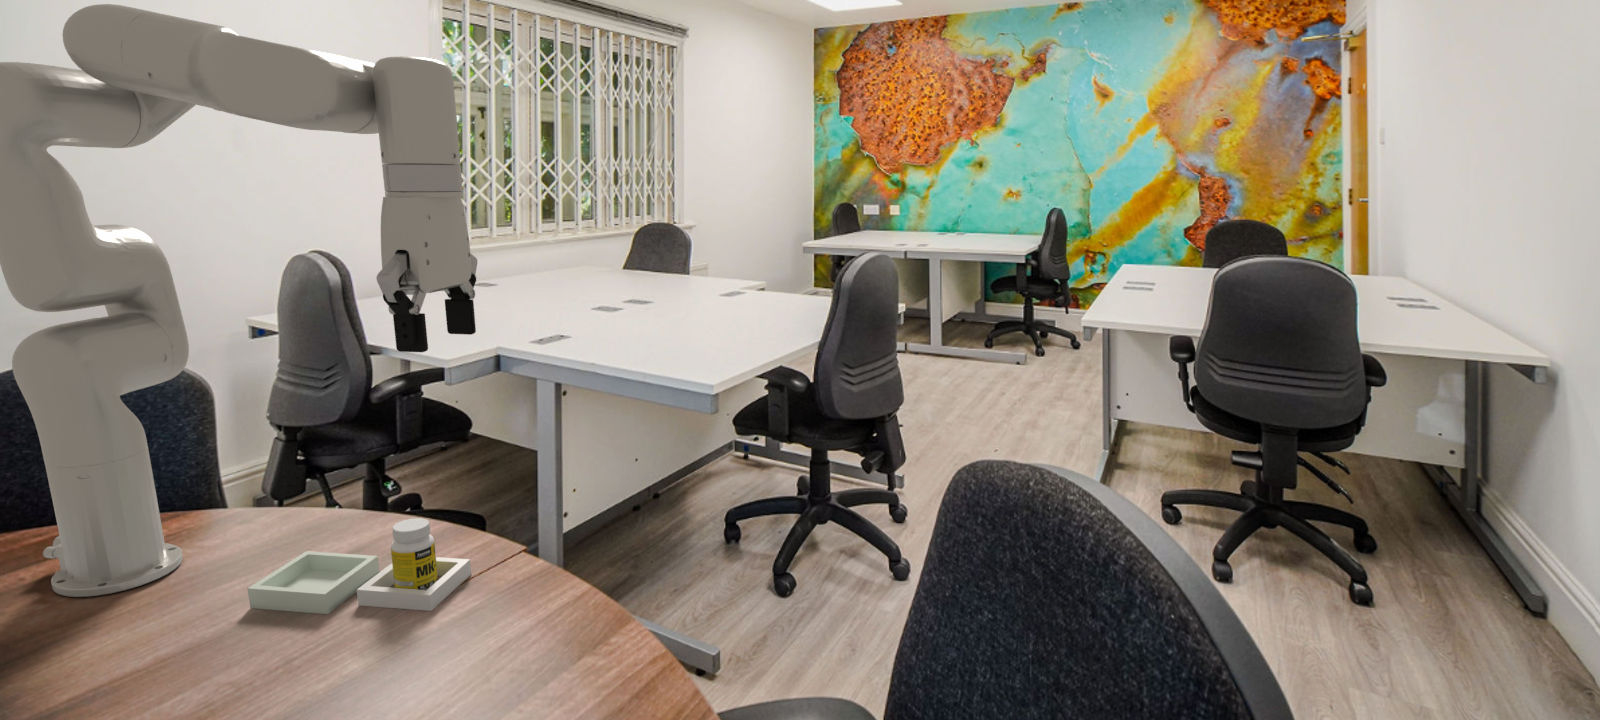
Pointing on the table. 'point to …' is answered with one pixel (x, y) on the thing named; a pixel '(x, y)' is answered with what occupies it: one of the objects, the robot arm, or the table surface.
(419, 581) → the supplement bottle
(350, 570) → the tray
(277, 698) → the table surface
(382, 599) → the collar holder
